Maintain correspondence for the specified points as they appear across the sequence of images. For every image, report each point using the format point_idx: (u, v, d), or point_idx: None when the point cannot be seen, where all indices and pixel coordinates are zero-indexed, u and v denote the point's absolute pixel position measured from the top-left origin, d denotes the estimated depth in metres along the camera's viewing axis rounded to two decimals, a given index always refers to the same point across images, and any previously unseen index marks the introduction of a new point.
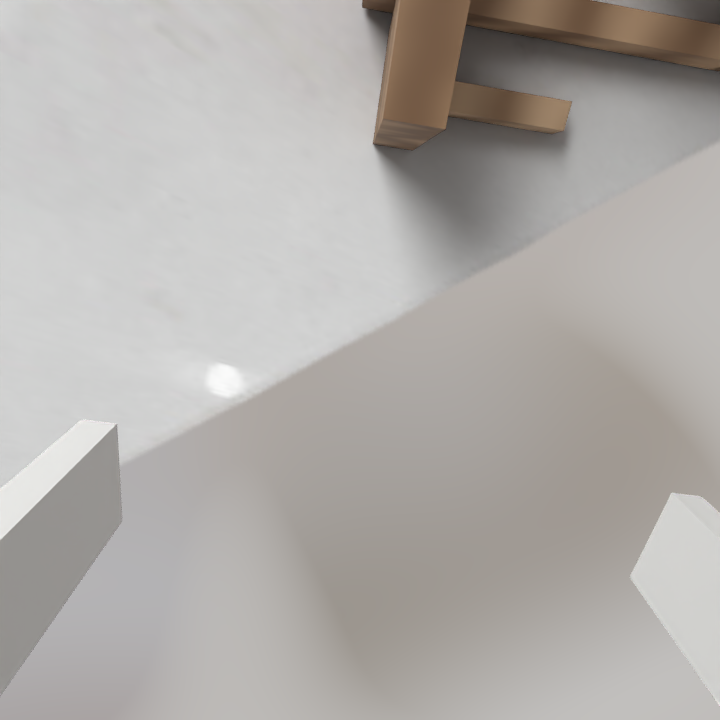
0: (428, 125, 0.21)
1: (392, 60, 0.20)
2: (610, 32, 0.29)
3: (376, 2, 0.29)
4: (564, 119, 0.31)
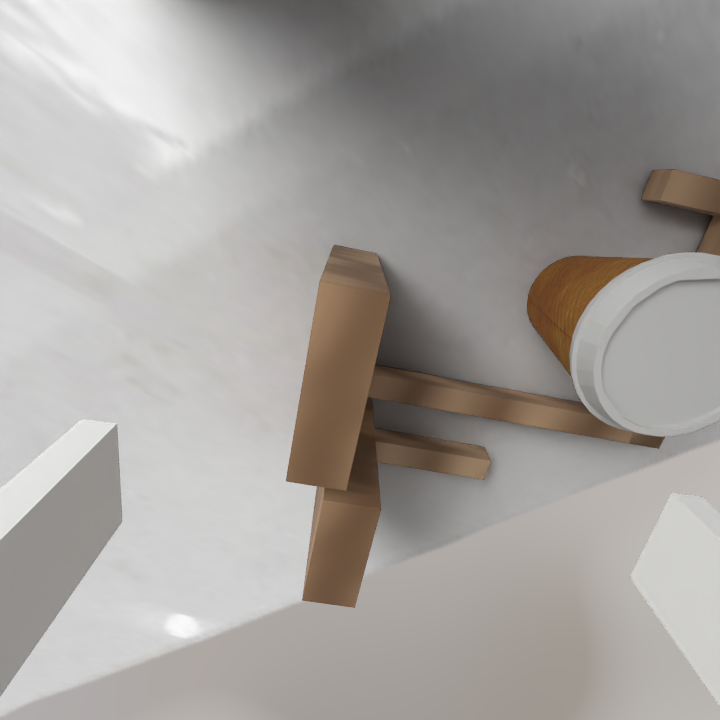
0: (340, 605, 0.25)
1: (309, 567, 0.24)
2: (522, 419, 0.33)
3: None
4: (485, 472, 0.35)
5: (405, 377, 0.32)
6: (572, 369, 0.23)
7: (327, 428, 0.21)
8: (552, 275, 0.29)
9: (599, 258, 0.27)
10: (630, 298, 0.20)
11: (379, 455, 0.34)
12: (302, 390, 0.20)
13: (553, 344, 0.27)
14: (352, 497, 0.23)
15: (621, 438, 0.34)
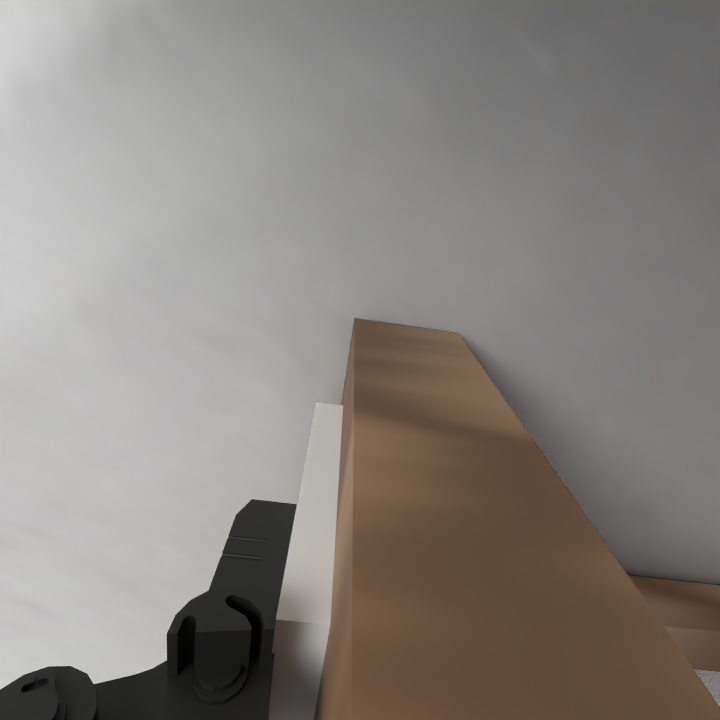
0: None
1: None
2: None
3: None
4: None
5: None
6: None
7: None
8: None
9: None
10: None
11: None
12: None
13: None
14: None
15: None
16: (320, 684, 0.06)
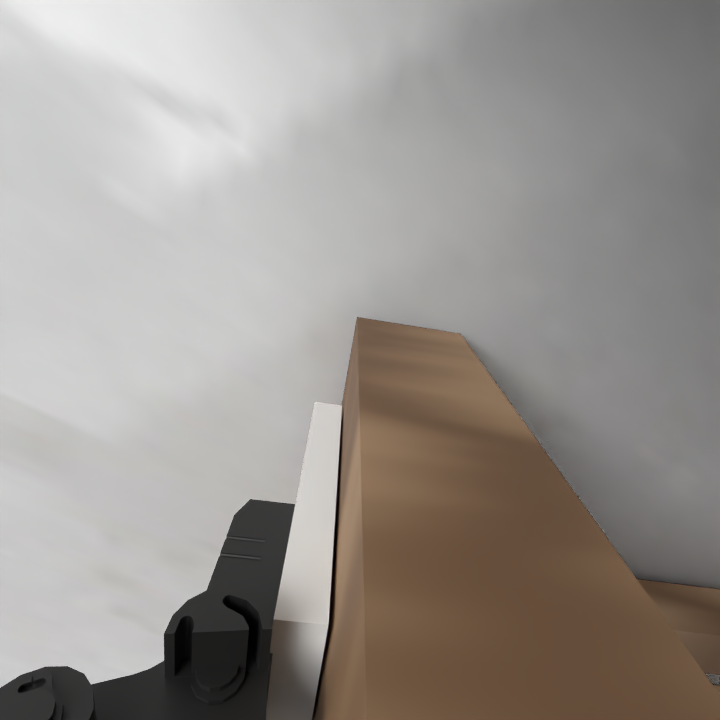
0: None
1: None
2: None
3: None
4: None
5: None
6: None
7: None
8: None
9: None
10: None
11: None
12: None
13: None
14: None
15: None
16: (323, 683, 0.06)
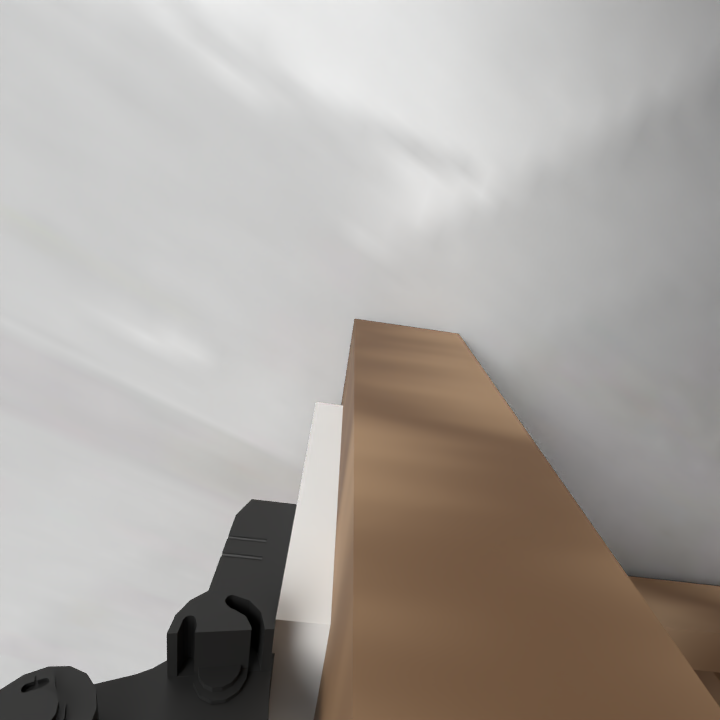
0: None
1: None
2: None
3: None
4: None
5: None
6: None
7: None
8: None
9: None
10: None
11: None
12: None
13: None
14: None
15: None
16: (320, 686, 0.06)
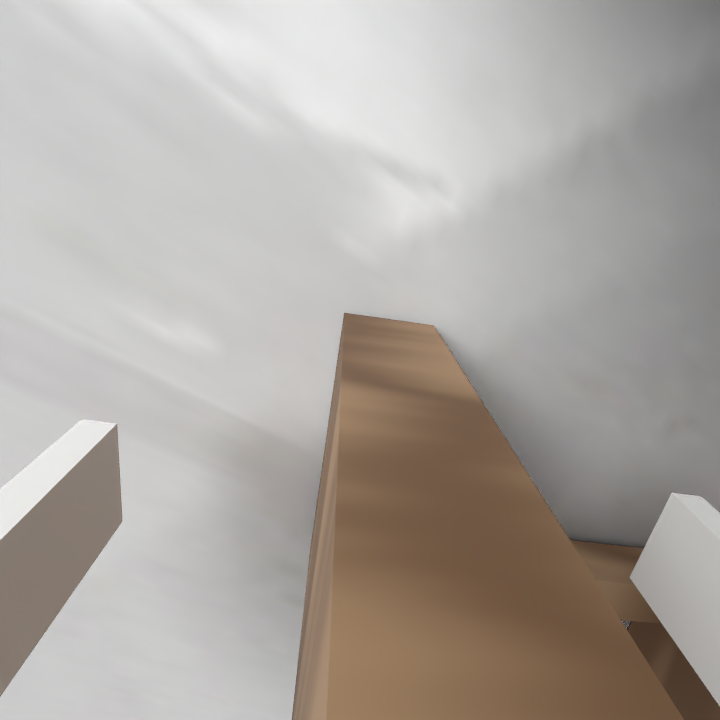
0: None
1: None
2: None
3: None
4: None
5: None
6: None
7: None
8: None
9: None
10: None
11: None
12: None
13: None
14: None
15: None
16: (315, 585, 0.08)
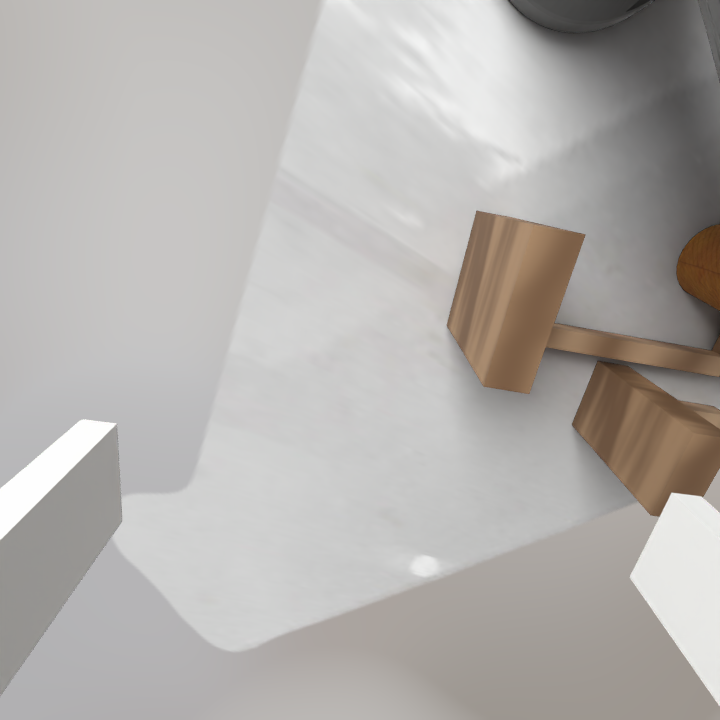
0: None
1: (664, 488, 0.31)
2: (629, 357, 0.39)
3: None
4: None
5: None
6: None
7: (522, 342, 0.27)
8: (709, 239, 0.36)
9: None
10: None
11: None
12: (507, 311, 0.26)
13: None
14: (709, 432, 0.30)
15: (712, 372, 0.40)
16: (491, 266, 0.31)
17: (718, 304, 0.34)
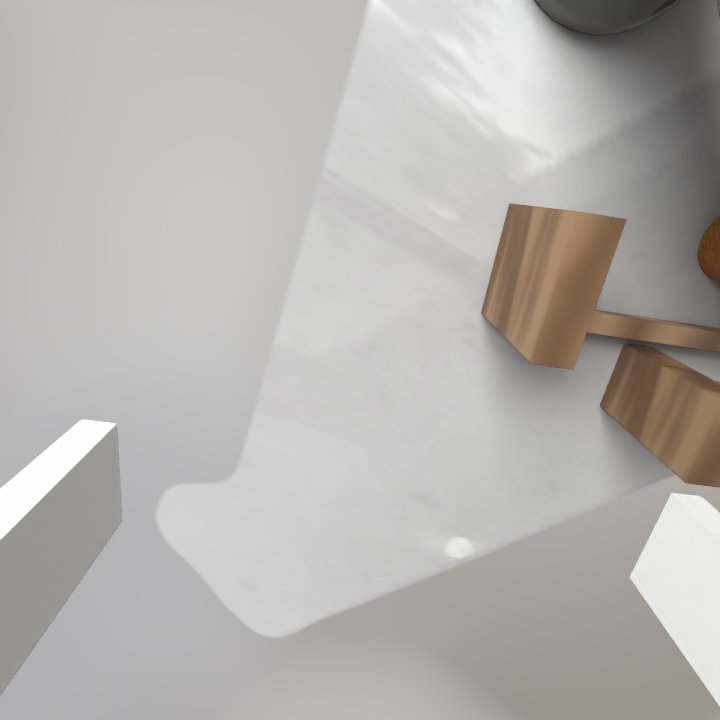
0: (712, 486, 0.35)
1: (698, 456, 0.34)
2: (655, 338, 0.41)
3: None
4: None
5: None
6: None
7: (567, 321, 0.29)
8: None
9: None
10: None
11: None
12: (554, 293, 0.29)
13: None
14: None
15: None
16: (531, 254, 0.33)
17: None
